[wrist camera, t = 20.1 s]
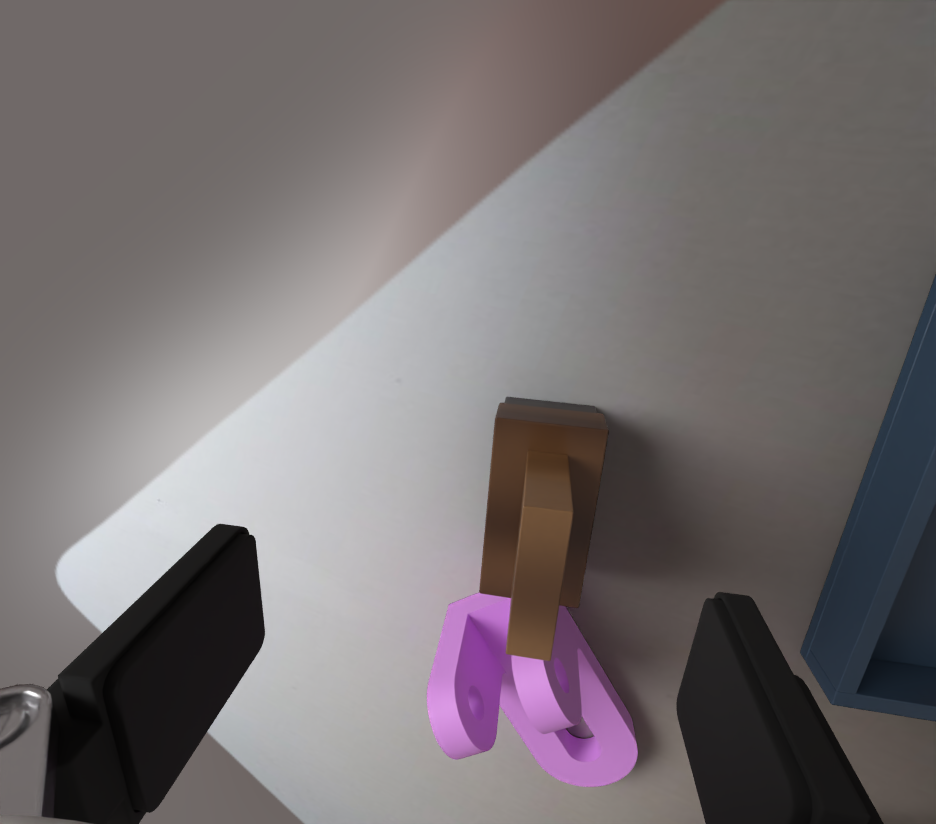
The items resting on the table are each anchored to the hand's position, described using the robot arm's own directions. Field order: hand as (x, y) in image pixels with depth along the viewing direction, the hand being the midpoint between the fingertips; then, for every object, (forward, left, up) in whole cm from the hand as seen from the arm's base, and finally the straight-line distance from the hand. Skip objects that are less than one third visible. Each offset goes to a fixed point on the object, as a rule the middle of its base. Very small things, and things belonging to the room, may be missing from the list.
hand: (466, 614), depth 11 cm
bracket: (+15, +4, -14) cm, 21 cm away
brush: (+4, +2, -14) cm, 15 cm away
